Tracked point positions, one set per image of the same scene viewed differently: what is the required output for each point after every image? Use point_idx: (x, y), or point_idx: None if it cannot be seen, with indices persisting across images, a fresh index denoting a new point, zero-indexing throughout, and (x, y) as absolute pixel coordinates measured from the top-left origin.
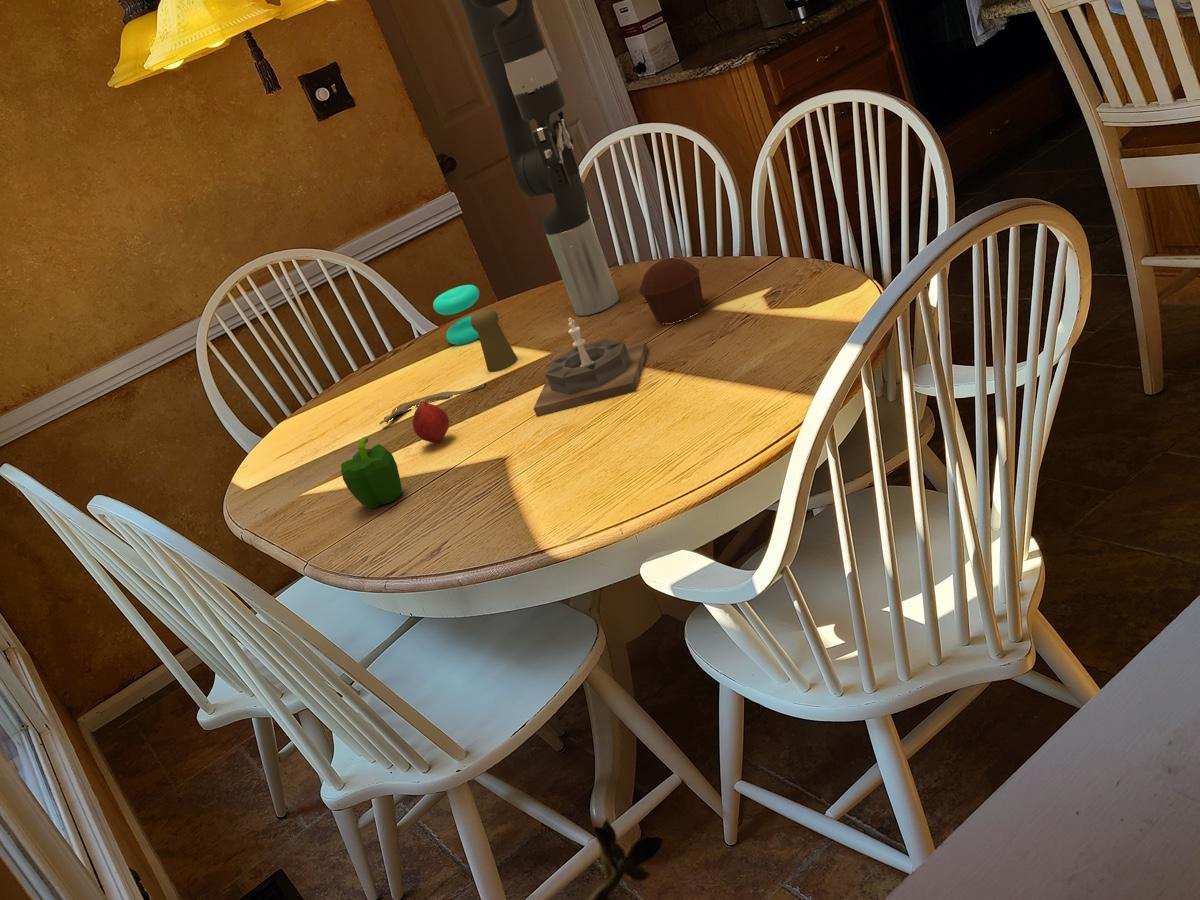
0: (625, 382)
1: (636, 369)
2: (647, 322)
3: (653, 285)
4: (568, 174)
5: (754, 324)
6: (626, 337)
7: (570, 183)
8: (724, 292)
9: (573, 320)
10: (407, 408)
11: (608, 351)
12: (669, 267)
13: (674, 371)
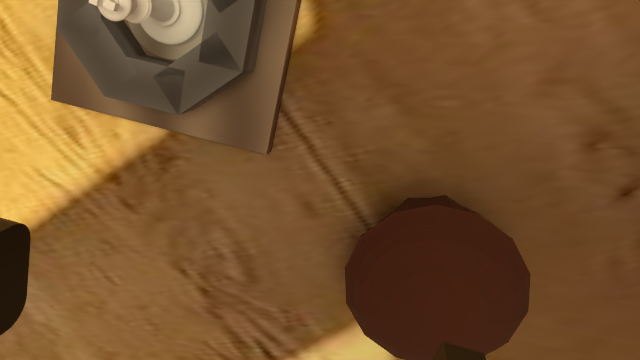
0: (62, 85)
1: (115, 115)
2: (458, 173)
3: (371, 251)
4: (440, 355)
5: (212, 353)
6: (404, 112)
7: (13, 323)
8: None
9: (107, 8)
10: None
11: (145, 71)
12: (389, 320)
13: (104, 182)
